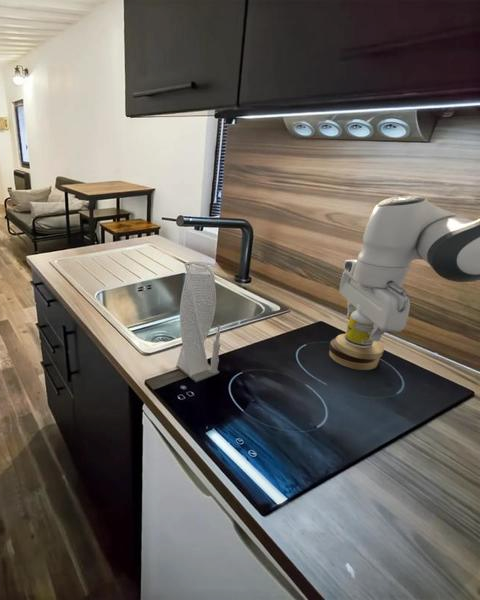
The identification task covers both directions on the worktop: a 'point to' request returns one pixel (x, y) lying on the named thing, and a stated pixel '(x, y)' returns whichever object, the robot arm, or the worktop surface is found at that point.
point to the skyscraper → (198, 321)
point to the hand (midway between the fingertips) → (361, 329)
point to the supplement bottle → (359, 329)
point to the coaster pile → (355, 354)
